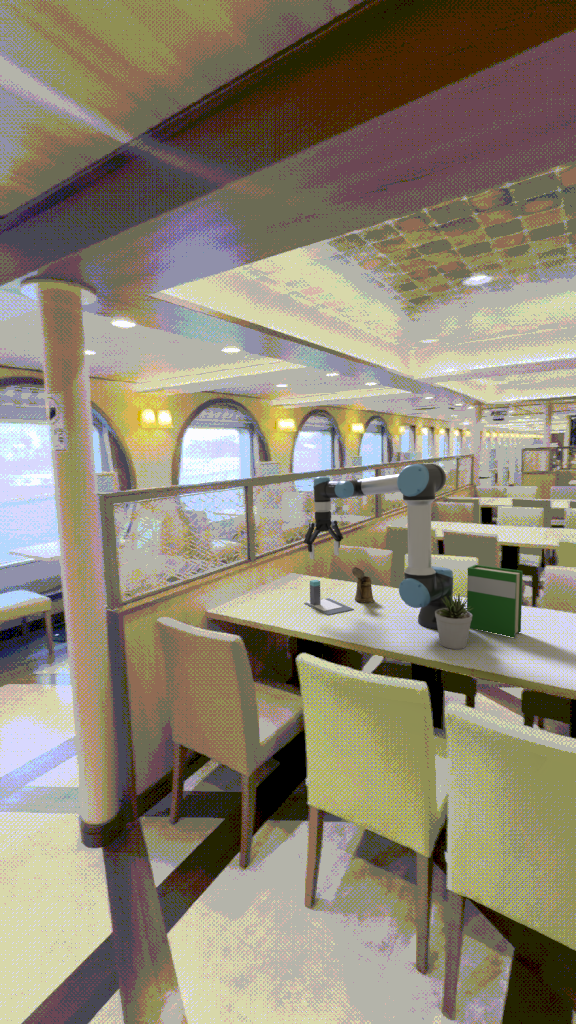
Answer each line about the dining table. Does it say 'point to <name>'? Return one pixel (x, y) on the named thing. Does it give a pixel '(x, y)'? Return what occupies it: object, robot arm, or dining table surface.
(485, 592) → the hardback book
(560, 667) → the dining table surface
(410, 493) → the robot arm
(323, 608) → the writing mat
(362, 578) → the wooden mug
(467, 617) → the potted plant
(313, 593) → the marker
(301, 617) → the dining table surface
